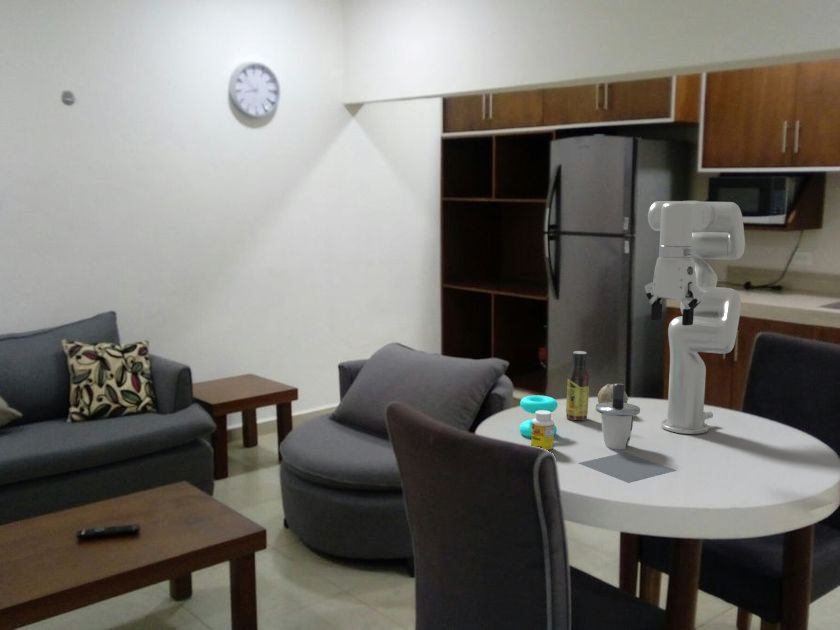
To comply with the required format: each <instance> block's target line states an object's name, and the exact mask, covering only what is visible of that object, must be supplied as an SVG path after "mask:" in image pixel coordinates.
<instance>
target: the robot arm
mask: <svg viewBox="0 0 840 630" xmlns="http://www.w3.org/2000/svg"><path fill="white" fill-rule="evenodd" d="M743 218H744V217H743V214H742V211H741V208H740V207H739V205H738V204H737V203H735V202H732V201H700V200H682V201H681V200H664V201H663V200H660V201H659V200H658V201H654V202H652V204H651V205H650V207H649V209H648V213H647V221H648V225H649V227H650V228H651V229H652V230H653V231H655V232H657V231H658V232H659V248H658V257H657V258H656V262H655V266H654V272H653V273H654V274H653V281H651V282H649V283H647V284H645V285H644V290H645V294H646V298H647V299H648V300H649V304H650V305H651V309H650V310H651V312H650V313H651V314H650V315H651V316H650V320H651V321H660V320H661V319H662V316H663V314H662V313H663V312H662V311H663V303H662V301H663V300H664V299H665V300H673V301H680V312H681V316H680V315H679V316H677V317H674V318H673V319H672V320H671V321H670V322H669V325H668V331H667V332H668V333H667V335H668V343H669V344H668V345H669V377H668V378H669V379H668V395H667V396H668V397H667V416H666V417H667V418H666V419H664V420H663V419H662V421H661V423H660V427H661V428H663V429H664V430H666V431H668V432H671V433H678V434H683V435H684V434H685V435H686V434H687V435H698V434H699V435H700V434H705V433H707V432H708V431H709V425H708V423H706V422H705V421H706V420H708V419H712V418H713V417H714V414H713V412H712V411H704V410H705V409H704V407H705V391H706V375H707V372H706V371H707V368H706V364H705V362H704V360H703V359H702V357H701V356H700V354H699V353H711V354H723V355H724V354H728V353H731V352H732V350H733V349H734V347H735V344H736V339H737V338H736V337H737V334H738V328H739V322H740V317H741V315H740V314H741V309H742V300H741V296H740V293H739V291H737V290H736V289H734V288H730V287H721V286H719V287H718V286H717V284H718V276H717V273H716V272H715V270H714V269H713V268H712V266H711V265H709V264H708V263H707V262H706V261H705V260H723V261H724V260H725V261H726V260H727V261H736V260H738V259H739V260H740V259H741V257H742V256H743V255H744V252H745V249H746V248H745V247H746V237H745V231H744V230H745V228H744V227H745V226H744V219H743Z"/></svg>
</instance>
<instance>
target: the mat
mask: <svg viewBox="0 0 840 630" xmlns="http://www.w3.org/2000/svg"><path fill="white" fill-rule="evenodd" d="M578 464H579V465H582V466H584V467H587V468H589V469H592V470H594V471H597V472H599V473H601V474H605V475H606V476H610V477H613V478H615V479H618V480H620V481H623V482H625V483H628V484H630V483H633V482H637V481H641V480H645V479H648V478H652V477H653V478H654V477H656V476H657V477H658V476H661V475H665V474H668V473H669V474H670V473H672V472H676V471H677V469H675V468H670V467H669V466H665V465H663V464H660V463H657V462H654V461H651V460H649V459H645V458H642V457H640V456H637V455H634V454H631V453H628V452H621V453H617V454H612V455H608V456H603V457H598V458H594V459H590V460H586V461H582V462H578Z"/></svg>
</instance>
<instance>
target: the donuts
mask: <svg viewBox="0 0 840 630" xmlns="http://www.w3.org/2000/svg"><path fill="white" fill-rule="evenodd" d="M519 404H520V405H519V406H520V408H521V409H522V410H524V411H525V412H527V413H528V414H533V415H535V412H536V411H539V410H545V411H549V412H551V413H553V412H554V411H556V410H557V408H558V401H557V400H556V399H555V398H553V397H551V396H547V395H535V394H534V395H528V396H527V395H526V396H525V397H523V398H521V399H520V401H519ZM533 419H534V418H533ZM533 419H527V420H525V421H523V422H521V423H520V426H519V432H520V433H521V435H523V436H524V437H527V438H531V436H532V420H533ZM557 431H558V429H557V426H556V424H554V436H555V435H556V434H557Z"/></svg>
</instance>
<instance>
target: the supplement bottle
mask: <svg viewBox="0 0 840 630" xmlns="http://www.w3.org/2000/svg"><path fill="white" fill-rule="evenodd" d="M554 425H555V421H554V419H553V418H552V412H549V411H545V410H539V411H536V412H535V414H534V418H533V420H532V436H531V444H530V447H531V446H535V447H540V448H543V449H546V450H548V451H550V452H552V451H554V440H555V439H554V437H555V435H554ZM550 452H549V453H550Z"/></svg>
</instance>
